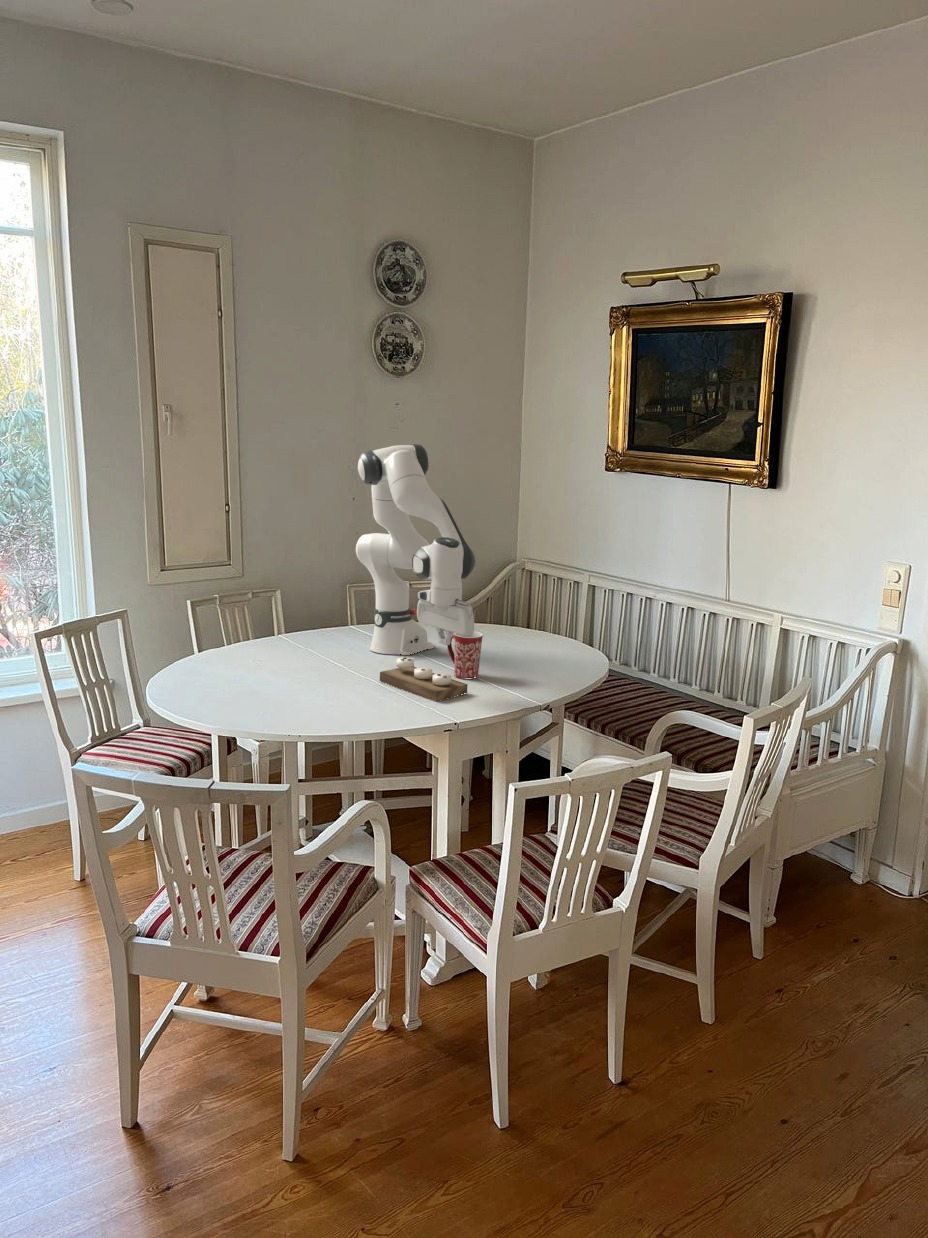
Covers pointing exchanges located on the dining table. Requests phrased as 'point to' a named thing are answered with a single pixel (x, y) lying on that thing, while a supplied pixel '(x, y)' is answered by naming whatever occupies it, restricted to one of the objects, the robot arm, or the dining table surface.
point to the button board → (421, 684)
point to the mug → (466, 654)
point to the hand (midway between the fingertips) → (444, 644)
